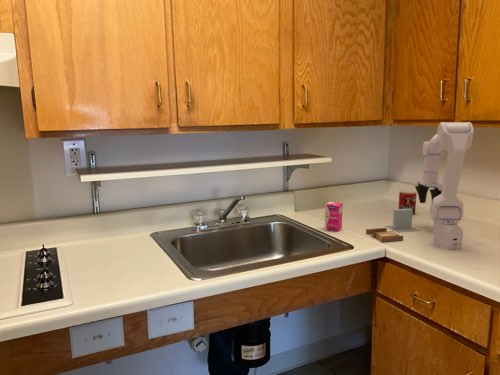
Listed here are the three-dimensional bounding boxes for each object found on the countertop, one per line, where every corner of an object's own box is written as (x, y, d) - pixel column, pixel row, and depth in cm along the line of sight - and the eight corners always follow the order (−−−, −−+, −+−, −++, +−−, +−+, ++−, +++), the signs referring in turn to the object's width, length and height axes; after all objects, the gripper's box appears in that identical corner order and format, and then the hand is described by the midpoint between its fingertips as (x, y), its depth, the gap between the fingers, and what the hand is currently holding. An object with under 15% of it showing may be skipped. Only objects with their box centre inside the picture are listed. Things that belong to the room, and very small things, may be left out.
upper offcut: (399, 237, 151) (399, 234, 151) (382, 238, 149) (382, 236, 149) (393, 234, 155) (393, 231, 154) (376, 235, 153) (376, 233, 153)
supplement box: (324, 231, 165) (324, 204, 163) (328, 228, 170) (329, 201, 168) (338, 233, 162) (339, 205, 160) (342, 229, 167) (343, 202, 165)
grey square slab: (411, 228, 166) (412, 209, 165) (394, 229, 165) (396, 210, 163) (409, 227, 168) (410, 208, 166) (392, 228, 166) (393, 209, 165)
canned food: (398, 214, 192) (399, 192, 190) (397, 211, 199) (399, 189, 198) (415, 215, 190) (417, 192, 188) (414, 212, 197) (415, 189, 195)
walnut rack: (403, 242, 150) (403, 236, 149) (382, 244, 148) (382, 237, 148) (385, 233, 161) (385, 227, 161) (365, 235, 159) (366, 229, 159)
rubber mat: (420, 232, 163) (420, 230, 163) (398, 234, 160) (398, 232, 160) (405, 225, 172) (405, 224, 172) (384, 227, 170) (384, 226, 170)
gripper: (411, 169, 169) (409, 201, 171) (434, 174, 155) (431, 209, 157) (425, 169, 170) (423, 200, 173) (450, 173, 156) (447, 208, 159)
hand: (428, 204), depth 165 cm, fingers open, 7 cm apart
